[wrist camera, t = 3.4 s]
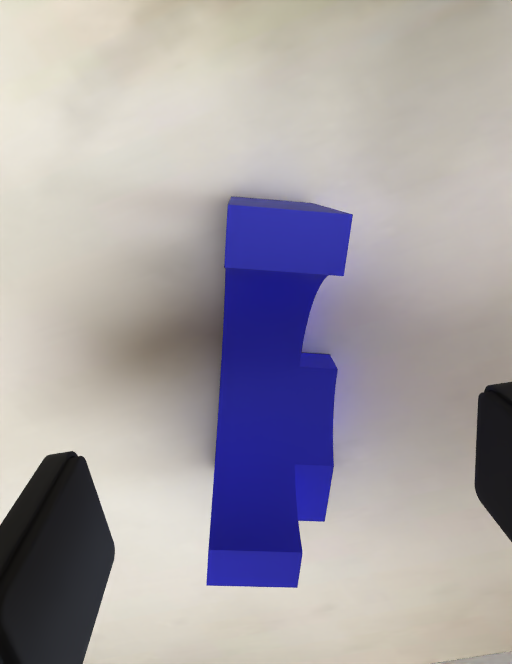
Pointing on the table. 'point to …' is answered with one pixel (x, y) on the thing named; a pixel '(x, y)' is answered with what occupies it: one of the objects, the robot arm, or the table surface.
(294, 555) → the blue semicircular clamp bracket
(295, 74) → the table surface
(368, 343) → the table surface
